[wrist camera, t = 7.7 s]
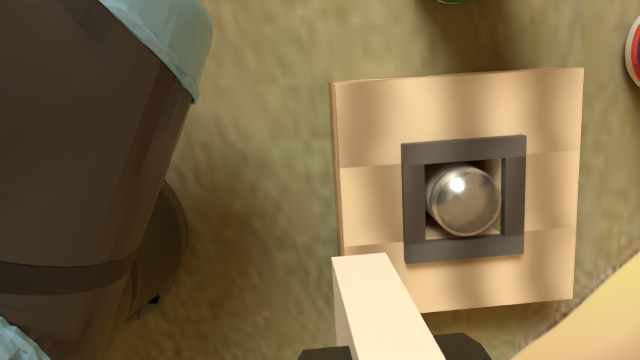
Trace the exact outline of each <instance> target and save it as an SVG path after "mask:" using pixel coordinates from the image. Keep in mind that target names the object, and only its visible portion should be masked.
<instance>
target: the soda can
mask: <svg viewBox="0 0 640 360" xmlns="http://www.w3.org/2000/svg"><path fill="white" fill-rule="evenodd" d="M437 1H439V2H442V3H448V4H460V3H464V2H467V1H470V0H437Z"/></svg>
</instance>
